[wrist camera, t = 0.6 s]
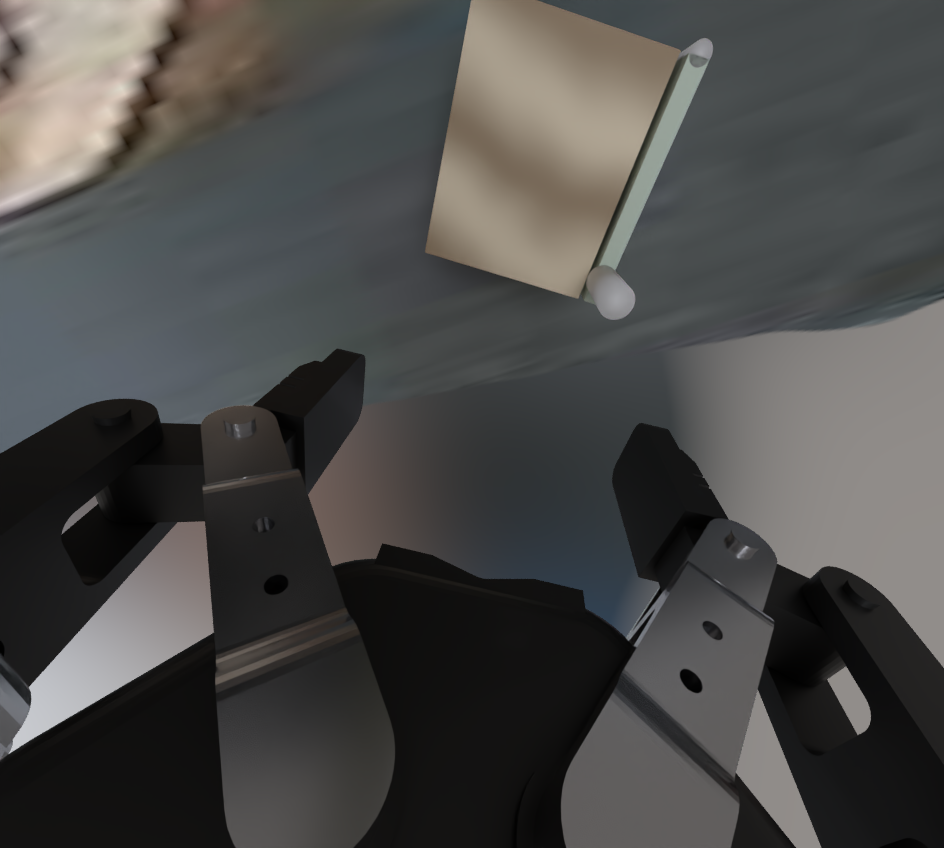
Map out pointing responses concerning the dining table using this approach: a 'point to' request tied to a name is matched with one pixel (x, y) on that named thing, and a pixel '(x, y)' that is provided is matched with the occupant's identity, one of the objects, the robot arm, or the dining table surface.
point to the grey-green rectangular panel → (643, 183)
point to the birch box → (541, 140)
